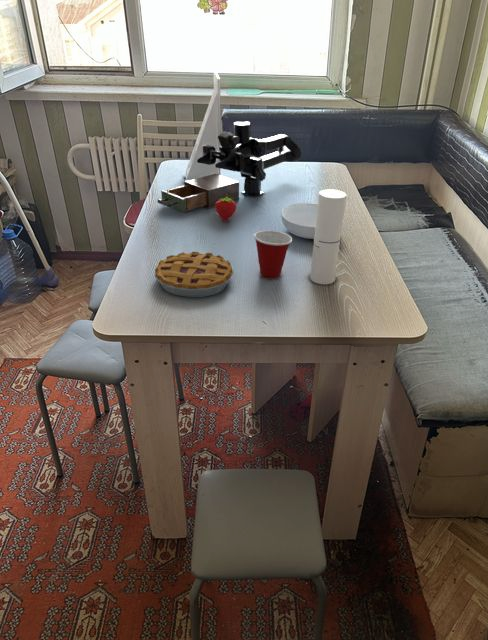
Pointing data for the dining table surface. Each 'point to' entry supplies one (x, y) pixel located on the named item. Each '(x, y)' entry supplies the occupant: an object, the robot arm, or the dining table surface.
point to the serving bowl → (300, 219)
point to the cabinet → (216, 188)
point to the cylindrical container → (327, 235)
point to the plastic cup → (271, 252)
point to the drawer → (184, 198)
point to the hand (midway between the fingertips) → (206, 163)
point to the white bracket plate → (207, 137)
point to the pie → (194, 274)
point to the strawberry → (225, 208)
